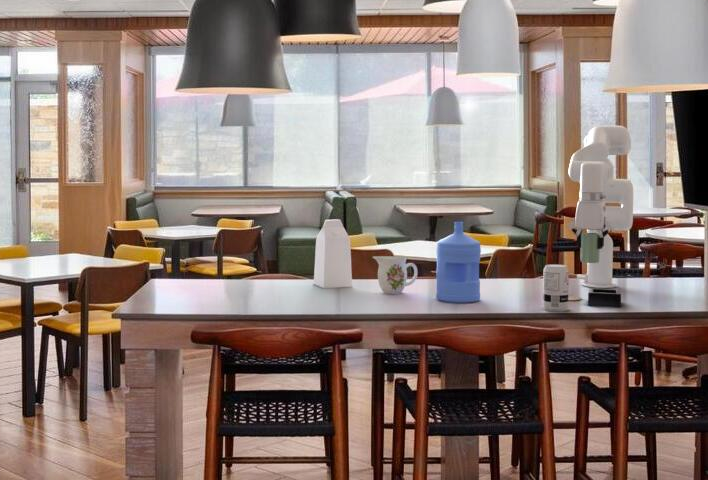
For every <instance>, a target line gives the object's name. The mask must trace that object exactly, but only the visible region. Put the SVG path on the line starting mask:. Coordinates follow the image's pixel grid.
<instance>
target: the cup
mask: <svg viewBox="0 0 708 480" xmlns="http://www.w3.org/2000/svg"><path fill="white" fill-rule="evenodd" d="M598 238H599V234H598V233H588V232H582V233H581V248H580V262H581V263H584V264H587V263H599V261H600V249H598Z"/></svg>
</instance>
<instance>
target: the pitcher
mask: <svg viewBox="0 0 708 480" xmlns="http://www.w3.org/2000/svg"><path fill="white" fill-rule="evenodd" d="M372 259H374V260H375V261H376V262H377V264H378V267H377V268H378V269H377V281H378V285H379V288H380V290H381V291H382V292H383V294H387V295H398V294H402V293H403V291H404V289H405V288H406V287H408V286H411V285H413V284H414V283H415V282H416V280H417V278H418V273H419V272H418V267H417V265H416V264H415V263H414V262H408V263H407V257H405V256H396V255H395V256H394V255H391V256H390V255H389V256H388V255H379V256H377V255H375V256H372ZM409 267H412V268H413V272H414V274H413V276H412V278H411V279H410V280H409V281H407V280H408V279H407V278H408V270H407V268H409Z"/></svg>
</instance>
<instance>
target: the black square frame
mask: <svg viewBox="0 0 708 480" xmlns="http://www.w3.org/2000/svg"><path fill="white" fill-rule="evenodd" d="M587 291H588V292H587V306H588V307H604V308H622V290H621V289H614V288H594V287H588V290H587Z"/></svg>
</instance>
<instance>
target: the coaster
mask: <svg viewBox="0 0 708 480" xmlns="http://www.w3.org/2000/svg"><path fill="white" fill-rule="evenodd" d="M581 300H582V298H581V297H579V296H576V295H575V296H574V295H568V302H578V301H581Z"/></svg>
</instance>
